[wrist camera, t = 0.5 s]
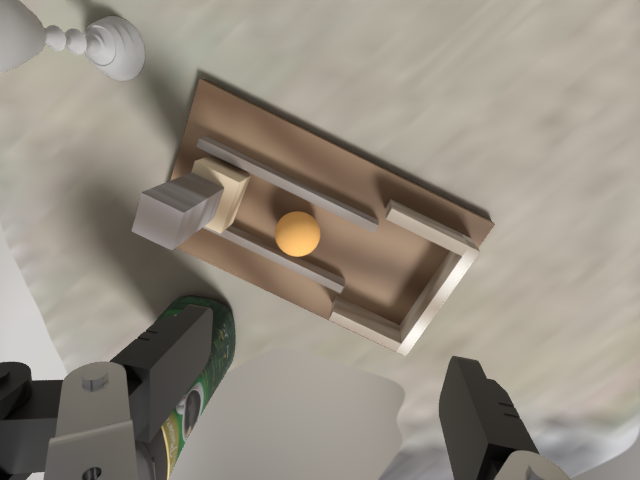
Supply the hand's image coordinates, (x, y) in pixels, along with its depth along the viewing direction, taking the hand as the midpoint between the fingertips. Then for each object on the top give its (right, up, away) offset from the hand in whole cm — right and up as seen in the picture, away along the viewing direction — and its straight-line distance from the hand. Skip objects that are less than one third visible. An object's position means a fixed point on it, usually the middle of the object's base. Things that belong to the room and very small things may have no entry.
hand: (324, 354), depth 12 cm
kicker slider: (-9, +8, +21) cm, 25 cm away
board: (-1, +5, +23) cm, 24 cm away
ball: (-2, +4, +20) cm, 21 cm away
